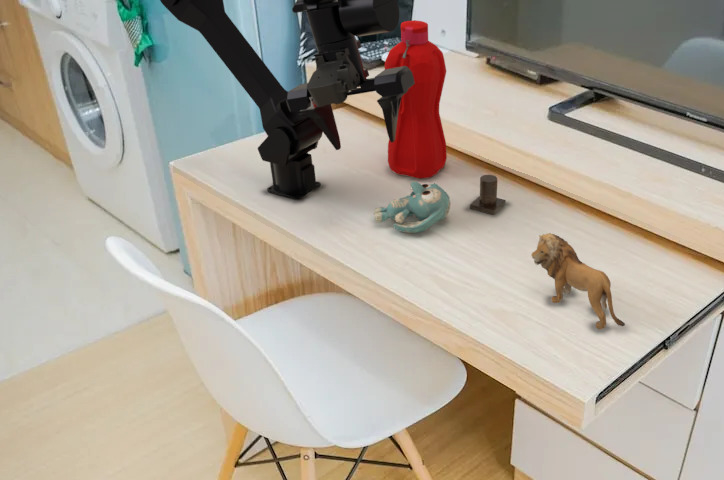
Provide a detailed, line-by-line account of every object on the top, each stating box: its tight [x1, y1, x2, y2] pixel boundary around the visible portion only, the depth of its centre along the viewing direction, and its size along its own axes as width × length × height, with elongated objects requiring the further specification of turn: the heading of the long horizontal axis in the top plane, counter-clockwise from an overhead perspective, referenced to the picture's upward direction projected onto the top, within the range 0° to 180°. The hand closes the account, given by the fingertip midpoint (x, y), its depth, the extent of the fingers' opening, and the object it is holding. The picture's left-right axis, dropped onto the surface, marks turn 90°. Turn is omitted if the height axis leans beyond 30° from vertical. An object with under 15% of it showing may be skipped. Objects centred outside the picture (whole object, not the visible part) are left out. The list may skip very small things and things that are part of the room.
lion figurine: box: [530, 232, 626, 330], centre depth 103 cm, size 15×5×9 cm, turn 50°
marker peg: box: [469, 174, 507, 215], centre depth 128 cm, size 4×4×5 cm
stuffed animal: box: [373, 180, 451, 234], centre depth 122 cm, size 11×7×12 cm
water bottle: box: [384, 19, 448, 180], centre depth 132 cm, size 9×11×25 cm
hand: (365, 145), depth 120 cm, fingers open, 9 cm apart
